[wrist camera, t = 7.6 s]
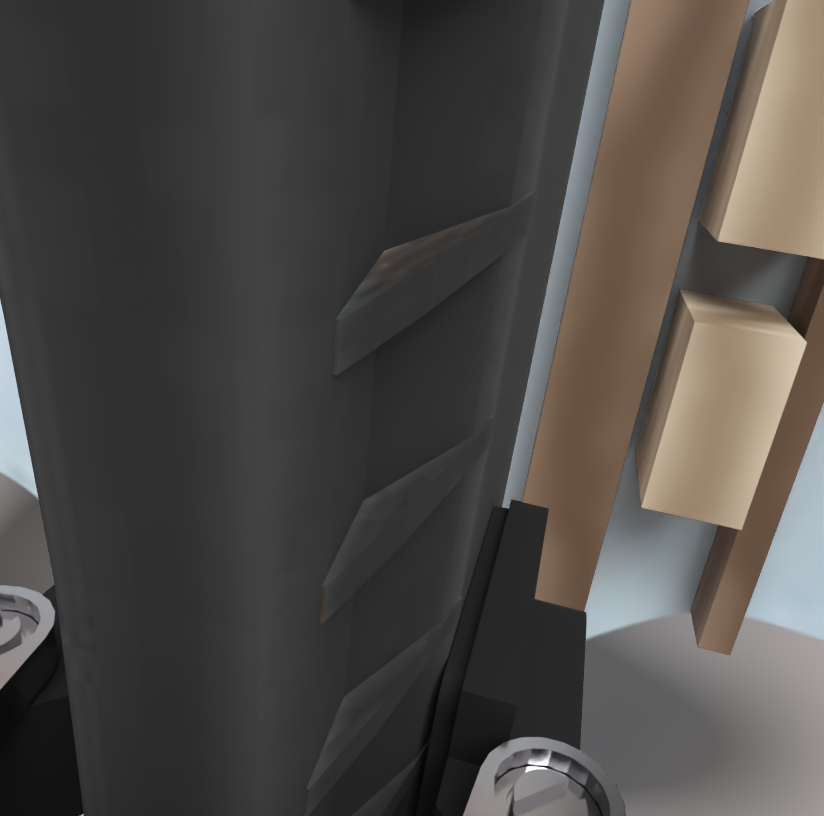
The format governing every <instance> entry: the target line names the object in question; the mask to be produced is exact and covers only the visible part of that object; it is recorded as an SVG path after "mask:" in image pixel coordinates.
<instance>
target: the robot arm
mask: <svg viewBox="0 0 824 816" xmlns="http://www.w3.org/2000/svg"><path fill="white" fill-rule="evenodd" d="M548 512H549V508H545V507H541V506H537V505H533V504H528V503H524V502H520V501H516V500H511V503H510V507H509V509H506V508H502V507H498V506H494V509H493V513H492V516H491V519H490V523H489V526H488V529H487V532H486V536H485V539H484V542H483V546H482V549H481V552H480V556H479V559H478V562H477V566H476V569H475V572H474V576H473V579H472V582H471V586H470V589H469V592H468V596H467V599H466V602H465V606H464V609H463V612H462V616H461V619H460V622H459V626H458V629H457V632H456V636H455V639H454V642H453V646H452V649H451V652H450V656H449V659H448V662H447V666H446V669H445V673H444V677H443V681H442V685H441V689H440V693H439V698H438V702H437V707H436V712H435V717H434V722H433V728H432V733H431V738H430V743H429V749H428V754H427V759H426V764H425V770H424V775H423V780H422V785H421V791H420V796H419V801H418V806H417V812H416V816H626V812H625V804H624V801H623V799H622V797H621V794H620V792H619V790H618V787H617V785H616V784H615V783H614V781H613V780H612V779H611V777H610V776H609V775H608V774H607V772H606V771H605V770H604V768H603V767H601V766H600V765H599V764H598V763H596V762H595V761H594V760H593V759H592V758H590V757H589V756H588V755H587V754H585V753H584V752H582V751H580V738H581V719H582V698H583V697H582V696H583V679H584V659H585V640H586V612H584V611H580V610H576V609H572V608H568V607H564V606H561V605H557V604H553V603H549V602H545V601H541V600H537V599H535V593H536V587H537V580H538V574H539V568H540V562H541V555H542V549H543V543H544V537H545V530H546V524H547V518H548ZM82 814H84V813H83V805H82V796H81V788H80V780H79V772H78V764H77V756H76V748H75V740H74V733H73V725H72V717H71V709H70V701H69V693H68V686H67V678H66V670H65V662H64V654H63V647H62V639H61V631H60V623H59V615H58V607H57V600H56V592H55V585H53V586H52V587H51V588H50V589H49V590H47V591H46V592H45V593H44V594H43V595H41V594H40V593H38V592H36V591H33V590H30V589H27V588H24V587H16V586H4V585H1V586H0V816H79V815H82Z"/></svg>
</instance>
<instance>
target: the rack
mask: <svg viewBox="0 0 824 816" xmlns="http://www.w3.org/2000/svg"><path fill="white" fill-rule="evenodd" d="M748 3H749V0H631V2H630V7H629V11H628V16H627V21H626V25H625V30H624V34H623V39H622V44H621V48H620V53H619V57H618V62H617V67H616V71H615V76H614V80H613V85H612V90H611V94H610V99H609V103H608V108H607V113H606V117H605V122H604V126H603V131H602V136H601V140H600V145H599V149H598V154H597V158H596V163H595V168H594V172H593V177H592V181H591V186H590V191H589V195H588V200H587V204H586V209H585V214H584V218H583V223H582V227H581V232H580V237H579V241H578V246H577V250H576V255H575V260H574V264H573V269H572V273H571V278H570V283H569V287H568V292H567V296H566V301H565V306H564V310H563V315H562V319H561V324H560V329H559V333H558V338H557V342H556V347H555V352H554V356H553V361H552V365H551V370H550V375H549V379H548V384H547V388H546V393H545V397H544V402H543V407H542V411H541V416H540V420H539V425H538V430H537V434H536V439H535V443H534V448H533V453H532V457H531V462H530V466H529V471H528V476H527V480H526V485H525V489H524V494H523V499H522V502H524V503H528V504H533V505H537V506H541V507H545V508H549V512H548V518H547V524H546V530H545V537H544V543H543V549H542V555H541V562H540V568H539V574H538V580H537V587H536V593H535V599H537V600H541V601H545V602H549V603H553V604H557V605H561V606H564V607H568V608H572V609H576V610H580V611H584V610H585V606H586V602H587V598H588V595H589V591H590V587H591V584H592V580H593V576H594V573H595V569H596V565H597V561H598V558H599V554H600V550H601V547H602V543H603V539H604V536H605V532H606V528H607V524H608V521H609V517H610V513H611V510H612V506H613V502H614V499H615V495H616V491H617V487H618V484H619V480H620V476H621V473H622V469H623V465H624V462H625V458H626V454H627V451H628V447H629V443H630V439H631V436H632V432H633V428H634V425H635V421H636V417H637V414H638V410H639V406H640V402H641V399H642V395H643V391H644V388H645V384H646V380H647V377H648V373H649V369H650V365H651V362H652V358H653V354H654V351H655V347H656V343H657V340H658V336H659V332H660V328H661V325H662V321H663V317H664V314H665V310H666V306H667V303H668V299H669V295H670V291H671V288H672V284H673V280H674V277H675V273H676V269H677V266H678V262H679V258H680V254H681V251H682V247H683V243H684V240H685V236H686V232H687V229H688V225H689V221H690V217H691V214H692V210H693V206H694V203H695V199H696V195H697V192H698V188H699V184H700V180H701V177H702V173H703V169H704V166H705V162H706V158H707V155H708V151H709V147H710V143H711V140H712V136H713V132H714V129H715V125H716V121H717V118H718V114H719V110H720V106H721V103H722V99H723V95H724V92H725V88H726V84H727V81H728V77H729V73H730V69H731V66H732V62H733V58H734V55H735V51H736V47H737V44H738V40H739V36H740V32H741V29H742V25H743V21H744V18H745V14H746V10H747V7H748ZM788 322H789V323H790V325H791V326H792V327H793V328H794V329H795V330H796V331H797V332H798V333H799V334H800V335H801V336H802V337H803V339H804V340H805V341H806V342H807V344H806V347H805V350H804V353H803V356H802V359H801V362H800V364H799V367H798V370H797V373H796V376H795V379H794V382H793V384H792V387H791V390H790V393H789V396H788V399H787V402H786V404H785V407H784V410H783V413H782V416H781V419H780V422H779V424H778V427H777V430H776V433H775V436H774V439H773V442H772V444H771V447H770V450H769V453H768V456H767V459H766V462H765V465H764V467H763V470H762V473H761V476H760V479H759V482H758V485H757V487H756V490H755V493H754V496H753V499H752V502H751V505H750V507H749V510H748V513H747V516H746V519H745V522H744V525H743V527H742V530H739V529H735V528H730V527H726V526H721V525H719V527H718V530H717V533H716V536H715V539H714V542H713V545H712V548H711V551H710V554H709V557H708V560H707V563H706V566H705V569H704V572H703V575H702V578H701V581H700V584H699V587H698V589H697V592H696V595H695V598H694V601H693V604H692V607H691V615H692V620H693V626H694V631H695V636H696V642H697V646H698V647H699V648H703V649H707V650H711V651H715V652H719V653H723V654H727V655H730V654H731V651H732V648H733V646H734V643H735V640H736V638H737V635H738V632H739V630H740V627H741V624H742V621H743V619H744V616H745V613H746V611H747V608H748V605H749V603H750V600H751V597H752V594H753V592H754V589H755V586H756V584H757V581H758V578H759V575H760V573H761V570H762V567H763V565H764V562H765V559H766V557H767V554H768V551H769V548H770V546H771V543H772V540H773V538H774V535H775V532H776V529H777V527H778V524H779V521H780V519H781V516H782V513H783V511H784V508H785V505H786V502H787V500H788V497H789V494H790V492H791V489H792V486H793V483H794V481H795V478H796V475H797V473H798V470H799V467H800V465H801V462H802V459H803V456H804V454H805V451H806V448H807V446H808V443H809V440H810V437H811V435H812V432H813V429H814V427H815V424H816V421H817V419H818V416H819V413H820V410H821V408H822V405H823V402H824V259H820V258H814V257H809V258H808V261H807V264H806V267H805V270H804V273H803V276H802V279H801V282H800V285H799V288H798V291H797V294H796V297H795V300H794V303H793V306H792V309H791V312H790V315H789V318H788Z"/></svg>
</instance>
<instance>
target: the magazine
mask: <svg viewBox="0 0 824 816" xmlns="http://www.w3.org/2000/svg"><path fill="white" fill-rule="evenodd" d="M603 5H604V0H0V300H1V304H2V309H3V314H4V319H5V324H6V329H7V335H8V340H9V345H10V350H11V356H12V361H13V366H14V371H15V377H16V382H17V387H18V393H19V398H20V403H21V408H22V414H23V419H24V424H25V429H26V435H27V440H28V445H29V451H30V456H31V461H32V466H33V472H34V477H35V482H36V487H37V493H38V498H39V503H40V508H41V514H42V519H43V524H44V530H45V535H46V540H47V545H48V551H49V556H50V561H51V566H52V572H53V576H54V583H55V592H56V600H57V607H58V615H59V623H60V631H61V639H62V647H63V654H64V662H65V670H66V678H67V686H68V693H69V701H70V709H71V717H72V725H73V733H74V740H75V748H76V756H77V764H78V772H79V780H80V788H81V796H82V805H83V813H84V816H416V812H417V806H418V801H419V796H420V791H421V785H422V780H423V775H424V770H425V764H426V759H427V754H428V749H429V743H430V738H431V733H432V728H433V722H434V717H435V712H436V707H437V702H438V698H439V693H440V689H441V685H442V681H443V677H444V673H445V669H446V666H447V662H448V659H449V656H450V652H451V649H452V646H453V642H454V639H455V636H456V632H457V629H458V626H459V622H460V619H461V616H462V612H463V609H464V606H465V602H466V599H467V596H468V592H469V589H470V586H471V582H472V579H473V576H474V572H475V569H476V566H477V562H478V559H479V556H480V552H481V549H482V546H483V542H484V539H485V536H486V532H487V529H488V526H489V523H490V519H491V516H492V513H493V509H494V506H498V507H502V504H503V499H504V494H505V489H506V484H507V480H508V475H509V470H510V465H511V460H512V455H513V450H514V445H515V441H516V436H517V431H518V426H519V421H520V416H521V411H522V406H523V401H524V397H525V392H526V387H527V382H528V377H529V372H530V367H531V362H532V357H533V353H534V348H535V343H536V338H537V333H538V328H539V323H540V318H541V313H542V308H543V303H544V298H545V293H546V288H547V284H548V279H549V274H550V269H551V264H552V259H553V254H554V249H555V244H556V239H557V234H558V229H559V224H560V219H561V214H562V209H563V204H564V199H565V194H566V189H567V184H568V179H569V174H570V169H571V164H572V159H573V154H574V149H575V144H576V139H577V134H578V129H579V125H580V120H581V115H582V110H583V105H584V100H585V95H586V90H587V85H588V80H589V75H590V70H591V65H592V60H593V55H594V50H595V45H596V40H597V35H598V30H599V25H600V20H601V15H602V10H603Z"/></svg>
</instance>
